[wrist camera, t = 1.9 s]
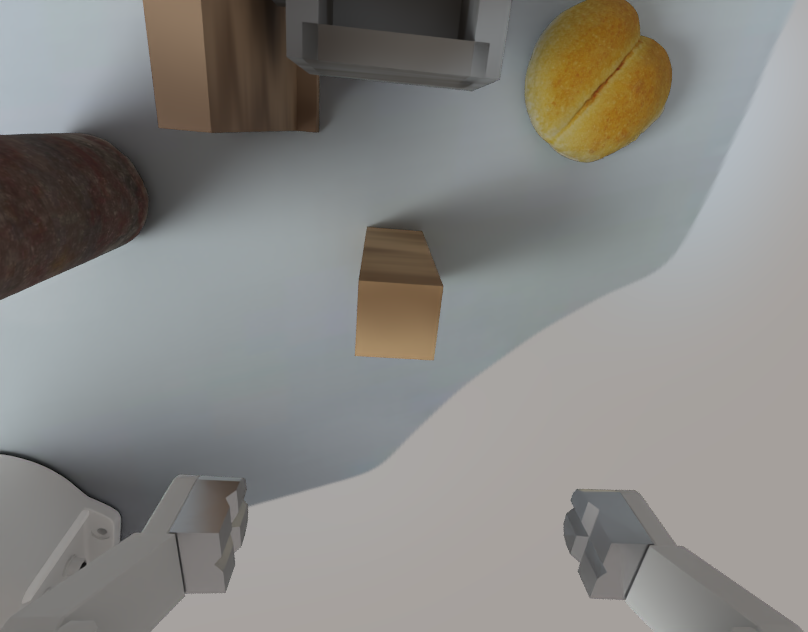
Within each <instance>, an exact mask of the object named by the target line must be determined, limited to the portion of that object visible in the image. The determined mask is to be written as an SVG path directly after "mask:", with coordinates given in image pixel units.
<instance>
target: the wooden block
mask: <svg viewBox="0 0 808 632" xmlns="http://www.w3.org/2000/svg"><path fill="white" fill-rule="evenodd" d="M442 293H443V284H442V282H441V279H440V276H439V274H438V271H437V269H436V266H435V263H434V261H433V258H432V256H431V253H430V250H429V248H428V245H427V243H426V240H425V237H424V235H423V232H422V231H413V230H400V229H387V228H374V227H367V231H366V237H365V243H364V250H363V256H362V263H361V269H360V276H359V285H358V305H357V325H356V346H355V356H366V357H384V358H402V359H420V360H434V354H435V346H436V339H437V331H438V323H439V316H440V308H441V300H442Z"/></svg>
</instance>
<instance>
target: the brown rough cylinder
mask: <svg viewBox="0 0 808 632" xmlns="http://www.w3.org/2000/svg"><path fill="white" fill-rule="evenodd" d="M148 203H149V197H148V194H147V190H146V188H145V187H144V184H143V180H142V179H141V178H140V176H139V174H138V172H137V171H136V169H135V167H134V165H133V164H132V162H131V161H130V160H129V159H128V158H127V157H126V156H125V155H123V154H122V153H121V152H120V151H119V150H118V149H117V148H115V147H114V146H113V145H112V144H110V143H109V142H108V141H106V140H104V139H101V138H98V137H95V136H92V135H87V134H82V133H49V134H15V135H0V300H2V299H4V298H6V297H8V296H10V295H13V294H15V293H18V292H20V291H22V290H24V289H26V288H29V287H31V286H33V285H35V284H37V283H40V282H42V281H44V280H47V279H49V278H51V277H53V276H56V275H58V274H60V273H62V272H65V271H67V270H69V269H71V268H74V267H76V266H78V265H81V264H83V263H85V262H87V261H89V260H92V259H94V258H96V257H98V256H100V255H103V254H105V253H107V252H109V251H112V250H114V249H116V248H118V247H120V246H122V245H124V244H126V243H128V242H130V241H131V240H133V239H134V238H135V237H136V236H137V235H138V234H139V232H140V231H141V229H142V227H143V225H144V223H145V221H146V218H147V213H148Z"/></svg>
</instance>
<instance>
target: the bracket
mask: <svg viewBox="0 0 808 632" xmlns="http://www.w3.org/2000/svg"><path fill="white" fill-rule="evenodd" d="M511 3H512V0H143V6H144V14H145V22H146V30H147V38H148V46H149V54H150V63H151V71H152V79H153V87H154V95H155V103H156V111H157V119H158V127H159V128H165V129H176V130H186V131H197V132H208V133H223V132H262V131H307V132H319V75H323V76H332V77H342V78H351V79H361V80H370V81H380V82H390V83H399V84H409V85H418V86H428V87H438V88H447V89H457V90H466V91H474V90H476V89H478V88H481V87H483V86H486V85H488V84H490V83H493V82H495V81H498V80H500V74H501V68H502V62H503V55H504V49H505V42H506V36H507V29H508V23H509V16H510V10H511Z"/></svg>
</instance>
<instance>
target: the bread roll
mask: <svg viewBox="0 0 808 632" xmlns="http://www.w3.org/2000/svg"><path fill="white" fill-rule="evenodd" d="M671 82H672V68H671V63H670V60H669V57H668V54H667V52H666V51H665V49H664V48H663V47H662V46H661V45H659V44H658V43H657V42H656V41H654V40H653V39H650V38H647V37H644V36H640V25H639V18H638V14H637V12H636V10H635V9H634V7H633V6H632V5H631V4H629V3H628V2H627V1H625V0H586V1H584V2H582V3H579V4H577V5H575V6H573V7H571V8H569V9H567V10H565V11H564V12H562V13H561V14H560V15H558V16H557V17H556V18H555V19H554V20H553V21H552V22H551V23H550V25H548V26H547V28H546V29H545V30H544V31H543V33H542V34H541V36H540V37H539V39H538V41H537V43H536V45H535V47H534V50H533V53H532V56H531V59H530V62H529V64H528V68H527V73H526V78H525V103H526V108H527V112H528V114H529V117H530V120H531V123H532V124H533V127H534V128H535V130H536V132H537V133H538V134H539V135H540V136H541V137H542V138H543V139H544V140H545V141H546V142H548V143H549V144H550V145H551V147H552V148H553V149H554V150H555V151H556V152H558V153H559V154H561V155H562V156H565V157H567V158H569V159H572V160H575V161H579V162H593V161H596V160H599V159H601V158H603V157H605V156H608V155H609V154H612V153H614V152H616V151H617V150H619V149H621V148H623V147H625V146H627V145H629V144H630V143H631V142H633V141H635V140H636V139H637V138H638V136H639V135H640V134H641V133H643V132H644V131H645V130H646V129H647V128H648V127H649V126H650V125H651V124H652V123H653V122H654V121H655V120H657V119H658V118H659V117H660V115H661V114H662V112H663V111H664V108H665V103H666V100H667V98H668V95H669V92H670V88H671Z"/></svg>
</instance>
